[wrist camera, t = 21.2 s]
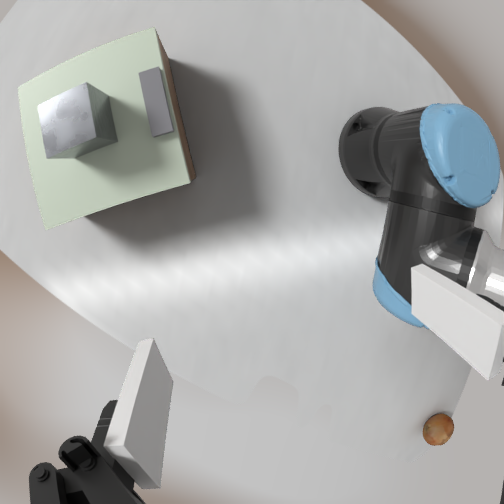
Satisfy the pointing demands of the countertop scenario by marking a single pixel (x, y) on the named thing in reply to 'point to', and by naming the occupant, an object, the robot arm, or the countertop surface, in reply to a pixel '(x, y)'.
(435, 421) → the onion
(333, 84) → the countertop surface
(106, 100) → the block
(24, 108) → the lid
